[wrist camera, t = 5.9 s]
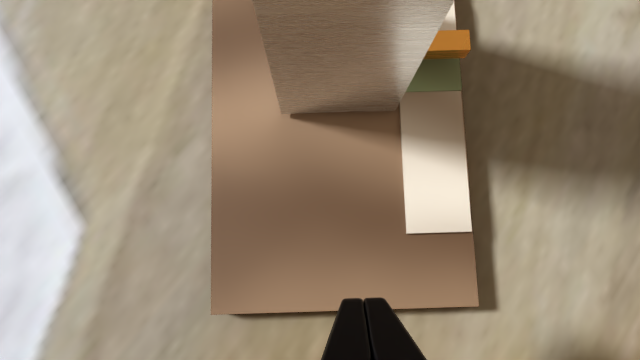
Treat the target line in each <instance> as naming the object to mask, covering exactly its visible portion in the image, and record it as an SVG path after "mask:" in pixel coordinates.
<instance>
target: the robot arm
mask: <svg viewBox="0 0 640 360" xmlns="http://www.w3.org/2000/svg"><path fill="white" fill-rule="evenodd" d="M321 360H427V359H426V358H425V356H424V355H423V354H422V352H421V351H420V349H419V348H418V346H417V345H416V343H415V342H414V340H413V339H412V337H411V336H410V334H409V333H408V331H407V330H406V329H405V327H404V326H403V324H402V323H401V321H400V320H399V318H398V317H397V315H396V314H395V312H394V311H393V309H392V308H391V307H390V305H389V304H388V302H387V301H386V300H385V299H384V298H382V297H375V298H365V299H364V301H363V300H362V299H361V298H345V299H343V300H342V301H341V304H340V307H339V310H338V313H337V315H336V318H335V321H334V324H333V327H332V330H331V333H330V335H329V338H328V341H327V344H326V347H325V350H324V353H323V355H322V358H321Z"/></svg>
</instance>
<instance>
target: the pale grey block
mask: <svg viewBox="0 0 640 360" xmlns="http://www.w3.org/2000/svg"><path fill="white" fill-rule="evenodd" d="M252 1H253V5H254V9H255V13H256V17H257V21H258V25H259V29H260V32H261V36H262V40H263V44H264V48H265V52H266V56H267V60H268V64H269V67H270V71H271V75H272V79H273V83H274V87H275V91H276V95H277V99H278V102H279V106H280V110H281V114H297V113H333V112H370V111H395V110H396V108H397V107H398V105H399V103H400V101H401V99H402V97H403V95H404V94H405V92H406V90H407V88H408V86H409V84H410V82H411V81H412V79H413V77H414V75H415V73H416V71H417V69H418V67H419V66H420V64H421V62H422V60H423V59H451V58H465V57H466V55H467V54H468V53H469V51H470V50H471V46H470V34H469V30H441V31H438V30H439V28H440V26H441V25H442V23H443V21H444V19H445V17H446V15H447V13H448V12H449V10H450V8H451V6H452V4H453V2H454V0H252Z"/></svg>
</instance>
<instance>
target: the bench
mask: <svg viewBox="0 0 640 360" xmlns="http://www.w3.org/2000/svg"><path fill="white" fill-rule="evenodd" d="M441 30H457V21H456V9H455V0H454V2H453V4H452V6H451V8H450V10H449V12H448V13H447V15H446V17H445V19H444V21H443V23H442V25H441V26H440V28H439V30H438V31H441ZM375 297H382V298H384V299H385V300H386V301H387V302H388V304H389V305H390V307H391V308H392V309H409V308H441V307H473V306H479V301H478V288H477V276H476V263H475V250H474V238H473V225H472V212H471V199H470V187H469V174H468V161H467V149H466V136H465V123H464V110H463V98H462V83H461V71H460V58H451V59H423V60H422V62H421V64H420V66H419V67H418V69H417V71H416V73H415V75H414V77H413V79H412V81H411V82H410V84H409V86H408V88H407V90H406V92H405V94H404V95H403V97H402V99H401V101H400V103H399V105H398V107H397V108H396V110H395V111H370V112H333V113H297V114H281V110H280V106H279V102H278V99H277V95H276V91H275V87H274V83H273V79H272V75H271V71H270V67H269V64H268V60H267V56H266V52H265V48H264V44H263V40H262V36H261V32H260V29H259V25H258V21H257V17H256V13H255V9H254V5H253V1H252V0H213V6H212V207H211V315H217V314H249V313H281V312H313V311H338V310H339V307H340V304H341V301H342V300H343V299H345V298H361V299H362V300H363V301H364V299H365V298H375Z"/></svg>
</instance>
